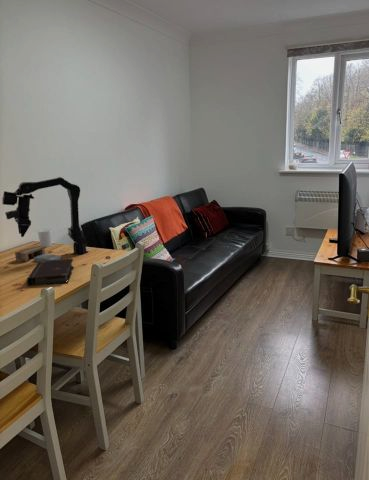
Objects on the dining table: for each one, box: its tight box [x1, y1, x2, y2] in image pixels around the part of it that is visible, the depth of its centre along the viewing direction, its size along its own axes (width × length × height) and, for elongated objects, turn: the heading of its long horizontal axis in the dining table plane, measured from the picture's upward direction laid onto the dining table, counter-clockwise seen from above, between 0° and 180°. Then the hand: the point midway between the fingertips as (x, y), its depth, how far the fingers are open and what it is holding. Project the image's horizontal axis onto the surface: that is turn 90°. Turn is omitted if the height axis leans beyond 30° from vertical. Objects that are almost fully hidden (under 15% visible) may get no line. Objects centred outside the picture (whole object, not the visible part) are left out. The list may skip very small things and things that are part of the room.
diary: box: [26, 258, 75, 287], centre depth 190 cm, size 19×25×5 cm
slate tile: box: [33, 253, 63, 263], centre depth 215 cm, size 12×8×2 cm, turn 68°
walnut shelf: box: [14, 244, 46, 263], centre depth 219 cm, size 7×15×5 cm, turn 158°
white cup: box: [37, 228, 53, 248], centre depth 244 cm, size 8×8×10 cm
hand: (21, 235), depth 210 cm, fingers open, 9 cm apart
